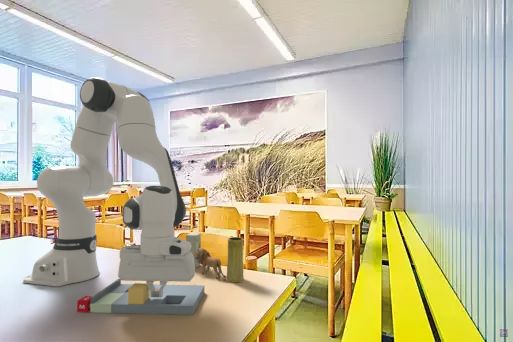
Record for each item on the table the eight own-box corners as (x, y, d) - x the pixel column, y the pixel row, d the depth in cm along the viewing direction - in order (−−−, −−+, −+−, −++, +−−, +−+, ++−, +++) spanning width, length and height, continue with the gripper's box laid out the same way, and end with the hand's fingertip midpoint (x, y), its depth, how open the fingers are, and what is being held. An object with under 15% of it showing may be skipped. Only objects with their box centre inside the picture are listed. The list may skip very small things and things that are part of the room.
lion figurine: (191, 273, 105) (191, 248, 105) (201, 269, 109) (201, 246, 109) (221, 281, 97) (222, 255, 97) (231, 277, 101) (231, 251, 101)
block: (128, 303, 74) (128, 288, 74) (134, 297, 78) (135, 282, 78) (143, 304, 74) (143, 288, 74) (149, 297, 78) (149, 283, 78)
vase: (247, 279, 98) (247, 238, 99) (234, 284, 94) (235, 241, 94) (235, 275, 102) (235, 236, 103) (222, 280, 98) (222, 238, 98)
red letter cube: (87, 313, 74) (87, 301, 74) (76, 312, 74) (77, 300, 74) (95, 307, 77) (95, 296, 77) (85, 306, 77) (85, 295, 77)
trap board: (90, 312, 74) (90, 297, 74) (118, 290, 88) (118, 278, 88) (192, 314, 73) (192, 300, 73) (204, 292, 87) (204, 280, 87)
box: (195, 268, 110) (195, 235, 110) (185, 267, 111) (185, 235, 111) (200, 264, 115) (201, 232, 115) (190, 263, 116) (191, 232, 116)
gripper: (114, 247, 74) (112, 300, 74) (191, 248, 74) (190, 302, 74) (125, 242, 81) (124, 291, 80) (196, 243, 80) (196, 292, 80)
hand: (156, 296), depth 77 cm, fingers closed
